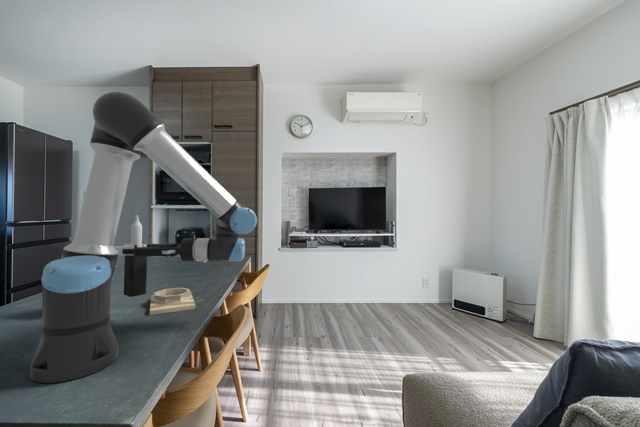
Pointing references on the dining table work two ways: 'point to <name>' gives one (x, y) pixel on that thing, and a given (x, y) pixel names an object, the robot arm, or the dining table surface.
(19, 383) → the dining table surface
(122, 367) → the dining table surface
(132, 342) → the dining table surface
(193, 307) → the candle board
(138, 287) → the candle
